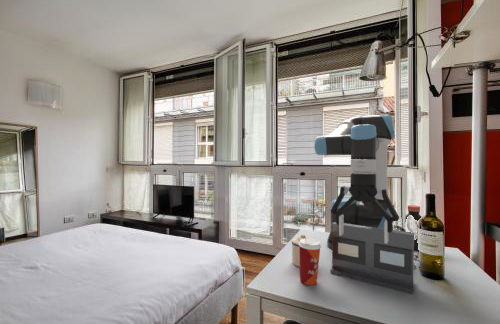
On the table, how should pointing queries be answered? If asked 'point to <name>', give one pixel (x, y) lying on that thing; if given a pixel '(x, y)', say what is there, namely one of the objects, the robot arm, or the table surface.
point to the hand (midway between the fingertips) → (362, 238)
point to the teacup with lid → (296, 250)
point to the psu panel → (374, 256)
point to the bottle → (414, 212)
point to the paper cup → (309, 260)
